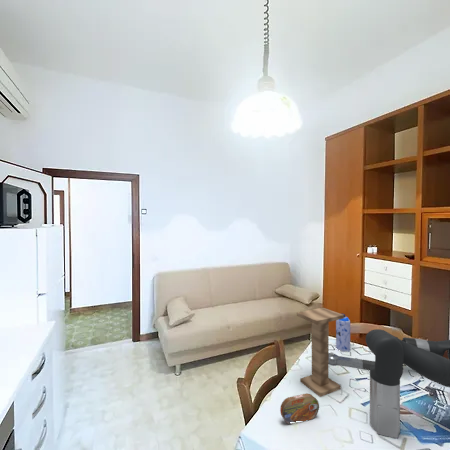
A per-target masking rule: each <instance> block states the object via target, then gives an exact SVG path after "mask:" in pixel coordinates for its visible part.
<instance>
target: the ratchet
mask: <svg viewBox="0 0 450 450" xmlns="http://www.w3.org/2000/svg"><path fill="white" fill-rule="evenodd" d="M372 365H375V360H368V359H362V358H356V357H346V356H341V355H337V354H336V353H334V352H332V351H330V352H329V366H333V367H334V366H341V367H345V368H353V369H357V370H359V369H360V370H366V371H370V367H371V366H372Z"/></svg>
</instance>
